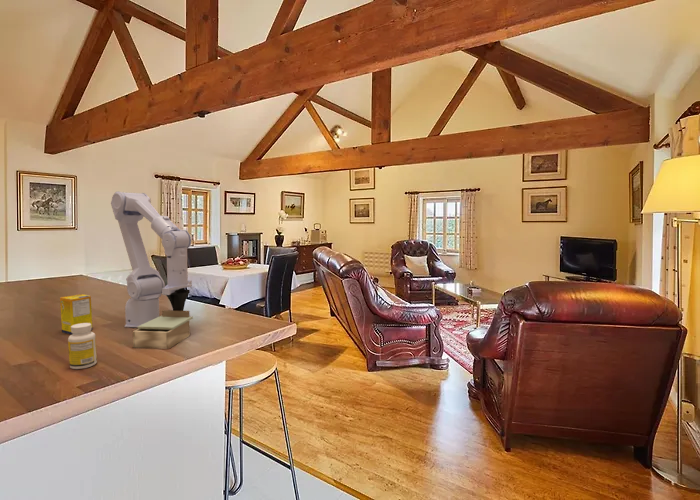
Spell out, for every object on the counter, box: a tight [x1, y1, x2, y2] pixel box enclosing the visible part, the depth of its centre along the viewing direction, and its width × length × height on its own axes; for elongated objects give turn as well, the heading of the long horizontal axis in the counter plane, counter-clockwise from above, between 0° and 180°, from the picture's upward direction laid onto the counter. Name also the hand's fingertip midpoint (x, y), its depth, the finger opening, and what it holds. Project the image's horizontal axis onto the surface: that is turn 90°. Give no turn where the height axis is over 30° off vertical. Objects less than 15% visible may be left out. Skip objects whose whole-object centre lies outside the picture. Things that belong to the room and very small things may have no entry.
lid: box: [137, 309, 194, 330], centre depth 113 cm, size 10×12×2 cm
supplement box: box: [59, 293, 94, 335], centre depth 119 cm, size 6×6×11 cm
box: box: [131, 320, 191, 350], centre depth 111 cm, size 10×12×4 cm
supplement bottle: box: [67, 323, 98, 370], centre depth 92 cm, size 5×5×10 cm
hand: (178, 313), depth 120 cm, fingers closed
